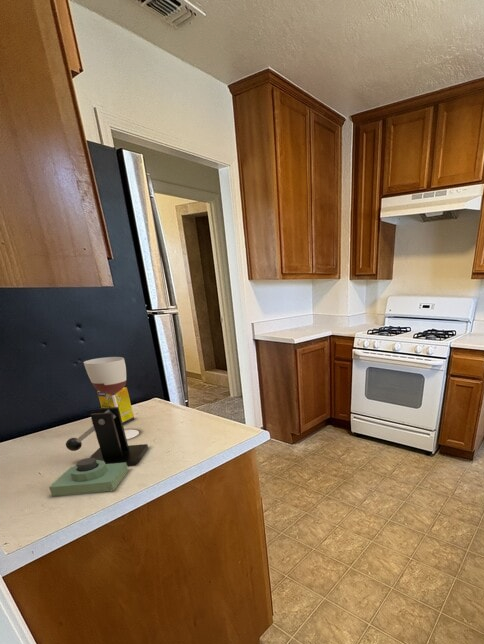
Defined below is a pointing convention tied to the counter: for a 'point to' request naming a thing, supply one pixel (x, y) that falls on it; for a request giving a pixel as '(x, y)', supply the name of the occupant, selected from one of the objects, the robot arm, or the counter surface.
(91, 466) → the button
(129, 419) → the supplement box
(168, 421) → the counter surface
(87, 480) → the button box
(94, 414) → the bracket
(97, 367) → the wineglass
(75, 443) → the lever
